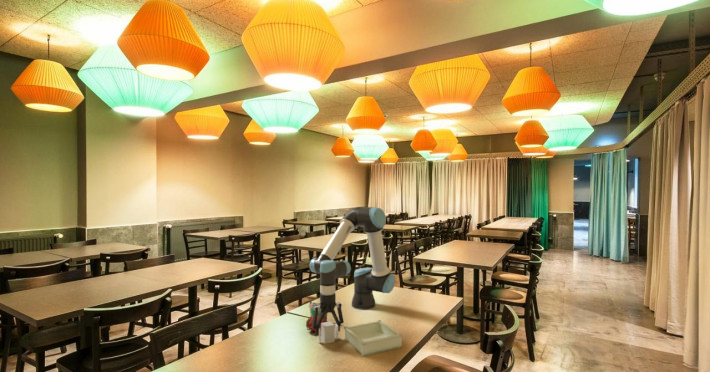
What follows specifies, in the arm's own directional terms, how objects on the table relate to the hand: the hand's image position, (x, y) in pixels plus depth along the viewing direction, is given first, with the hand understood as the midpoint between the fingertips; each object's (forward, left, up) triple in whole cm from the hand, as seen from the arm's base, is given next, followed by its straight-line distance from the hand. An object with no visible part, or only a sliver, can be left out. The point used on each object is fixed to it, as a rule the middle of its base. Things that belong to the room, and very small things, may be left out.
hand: (327, 340), depth 166 cm
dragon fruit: (+1, -14, 0) cm, 14 cm away
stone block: (0, 0, 0) cm, 0 cm away
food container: (-3, -25, 0) cm, 25 cm away
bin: (-18, +12, 0) cm, 22 cm away
